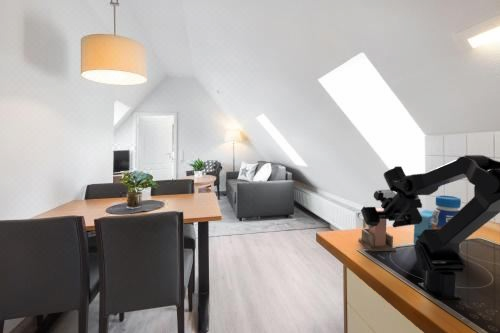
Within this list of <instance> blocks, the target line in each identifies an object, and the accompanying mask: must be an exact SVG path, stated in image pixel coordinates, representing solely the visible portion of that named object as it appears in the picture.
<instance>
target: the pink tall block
mask: <svg viewBox="0 0 500 333" xmlns="http://www.w3.org/2000/svg"><path fill="white" fill-rule="evenodd" d="M375 208H376V210H377V212H383V210H384V208H382V207H375ZM387 220H388V219H382V220H380V223H379V224H378V225H377V226H374V227H371V228H368V232H369V233H370V234H372V235H373V236H375V240H374V245H375V246H381V245H386V232H387Z"/></svg>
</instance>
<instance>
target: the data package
mask: <svg viewBox="0 0 500 333" xmlns="http://www.w3.org/2000/svg"><path fill="white" fill-rule="evenodd" d="M419 212H420V214H421V216H422V222H421V223H420V224H415V225H413V226H414V227H413V245H415V243H416V241H417V239H418V238H417V236H420V235H421V234H422V232H423V231H424V230H425V229H432V224H431V222H432V219H433V216H432V214H433V212H434V210H433V211H432V210H427V209H426V210H423V211H419Z"/></svg>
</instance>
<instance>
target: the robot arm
mask: <svg viewBox="0 0 500 333" xmlns="http://www.w3.org/2000/svg"><path fill="white" fill-rule="evenodd" d="M383 177H384V180H385V182H386V184H387V186H388V188H389V189H379V190H378V189H377V190H375V191H374V193H373V198H374V199H375V201H377V202H378V201H379V202H380V203H381V205H380V206H381V207H380V208H381V209H384V210H383V212H377V210H376V208H377V207H376V206H373V205H365V206H363V207H362V208H361V210H360V212H361V214H362V218H363V220H364V222H365V225H367V227H368V228H371V227H374V226H377V225H378V224H379V223H380V220H382V219H387V220H388V221H389V222H393V223H392V228H399V227H406V226H407V227H409V226H414V225H415V224H420V223H421V222H422V216H421V214H420V212H421V211H419V209H422V208H423V202H421V198H420V197H419V196H431V195H432V194H434V193H436V192H437V191H438V190H439V188H440V187H442V186H444V185H448V184H451V183H454V182H457V181H460V180H463V179H466V178H467V181H468V182H469V183H470V184H471V185H474V187H473V192H474V193H473V195H474V196H473V197H472V198H471V199H470V200H469V201H468V202H466V204H464V206H463V207H462V208H461V209H460V210H459V212H457V213H456V214H455V215H454V216H453V217H452V218H451V219H450V220H449V221H448V222H447V223H446V224H445V225H444V226H443V227H441V228H440V229H425V230H424V231H423V232H422V234H421V235H420V236H417V238H418V239H417V241H416V243H415V244H414V250H415V256H416V261H417V265H418V266H419V267H420V269H421V270H422V271H423V282H418V286H419V287H420V288H422V289H423V290H424V291H425V292H427V293H428V295H430V296H432V297H433V298H434V299H436V300H443V299H445V300H446V299H447V300H449V299H461V298H462V296H461V295H460V294H459V293H457V292H456V280H457V279H456V278H457V276H456V275H457V274H456V273H464V272H465V270H466V268H467V266H466V264H465V261H464V260H463V259H462V257H461V254H460V255H459V252H460V253H461V245H460V243H461V244H462V243H463V242H464V241H465V240H466V239H468V238H469V237H470V236H472V235H474V233H476V232H477V231H478V230H479V229H481V228H482V227H483V226H484V225H485V224H487V223H488V222H489V221H491V220H493V219H494V217H496V216H497V215H498V214H500V161H498V160H495V159H493V158H491V157H489V156H485V155H484V154H483V155H482V154H469V155H468V154H465V155H462V156H459V157H458V158H457V159H455V160H452V161H450V162H448V163H446V164H443V165H441V166H439V167H437V168H433V169H431V170H429V171H427V172H424V173H415V174H414V173H413V174H410V175H406V174H405V171H404V169H403V168H402V165H401V166H399V165H398V166H397V165H396V166H394V167H393V168H391V169H388V170H387V171H385V172H384V173H383Z"/></svg>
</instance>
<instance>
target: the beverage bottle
mask: <svg viewBox="0 0 500 333" xmlns="http://www.w3.org/2000/svg"><path fill="white" fill-rule="evenodd" d="M461 202H462V199H461V198H460V197H458V196H454V195H453V196H452V195H436V196H435V206H436V208H435V209H434V210H433V211H434V212H433V214H432V216H433V219H432V222H431V224H432V229H440V228H441V227H443V226H444V225H445V224H446V223H447V222H448V221H449V220H450V219H451V218H452V217H453V216H454V215H455V214H456V213H457V212H459V211H460V210H459V209H460V208H461ZM461 244H462V242H461V243H460V246H461ZM459 255H460V256H461V251H460V252H459Z"/></svg>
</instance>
